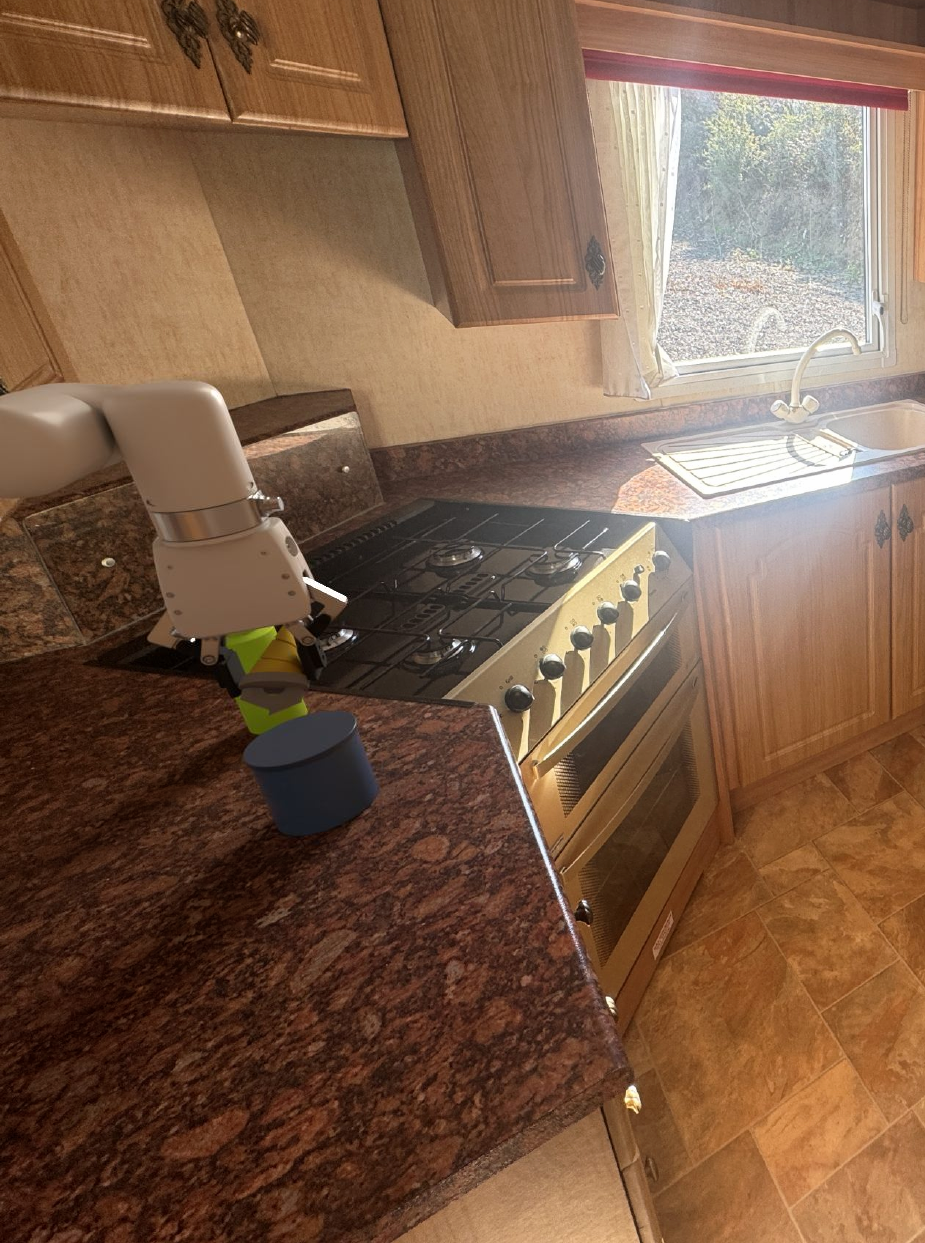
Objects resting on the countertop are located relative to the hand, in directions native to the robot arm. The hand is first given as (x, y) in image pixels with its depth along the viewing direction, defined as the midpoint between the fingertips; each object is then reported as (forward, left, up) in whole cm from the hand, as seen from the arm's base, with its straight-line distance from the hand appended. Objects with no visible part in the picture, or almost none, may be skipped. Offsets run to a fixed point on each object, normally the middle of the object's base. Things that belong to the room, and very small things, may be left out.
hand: (278, 680), depth 75 cm
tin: (0, 0, -16) cm, 16 cm away
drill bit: (0, 0, -2) cm, 2 cm away
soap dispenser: (-8, +22, -17) cm, 29 cm away
